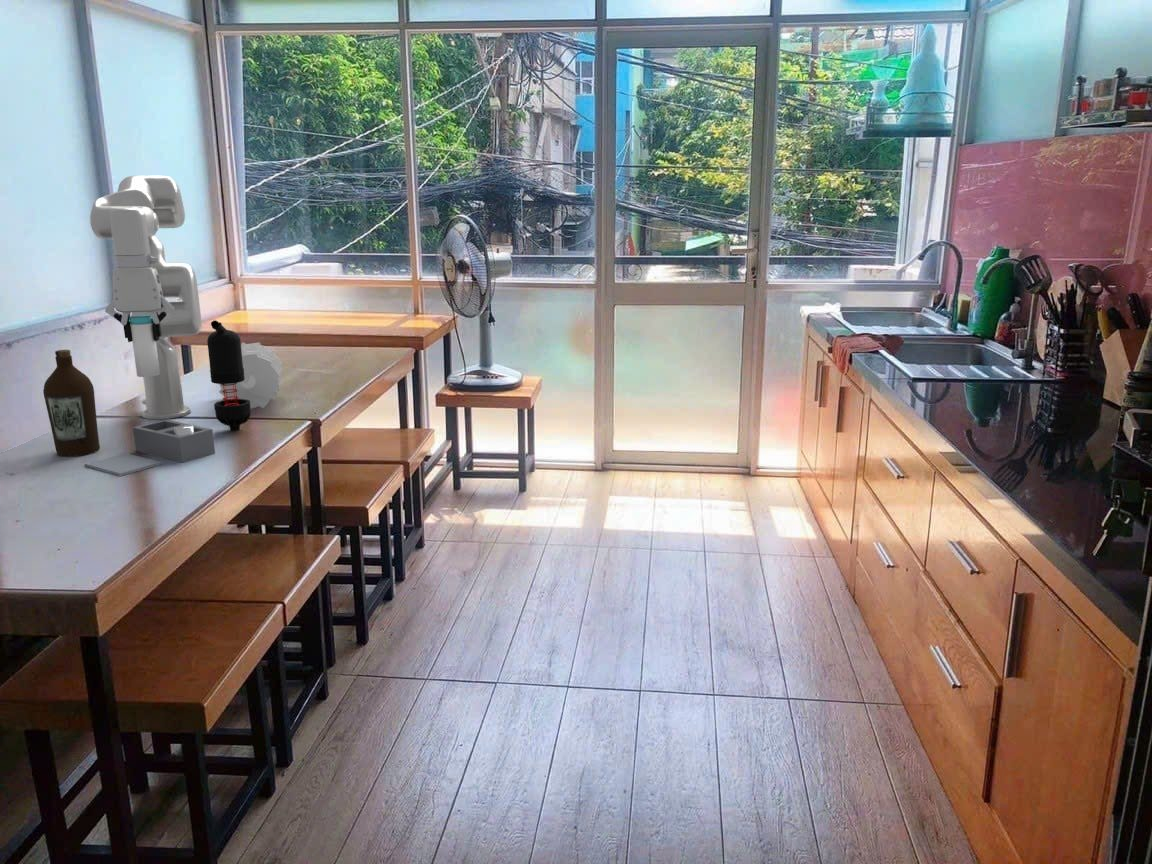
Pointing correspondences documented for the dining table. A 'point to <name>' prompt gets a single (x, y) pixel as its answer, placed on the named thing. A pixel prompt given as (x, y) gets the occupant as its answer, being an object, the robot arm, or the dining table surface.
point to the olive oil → (71, 408)
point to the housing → (173, 441)
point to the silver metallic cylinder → (183, 430)
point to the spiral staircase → (257, 376)
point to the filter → (227, 375)
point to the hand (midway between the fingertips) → (143, 339)
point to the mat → (122, 464)
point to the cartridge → (144, 346)
